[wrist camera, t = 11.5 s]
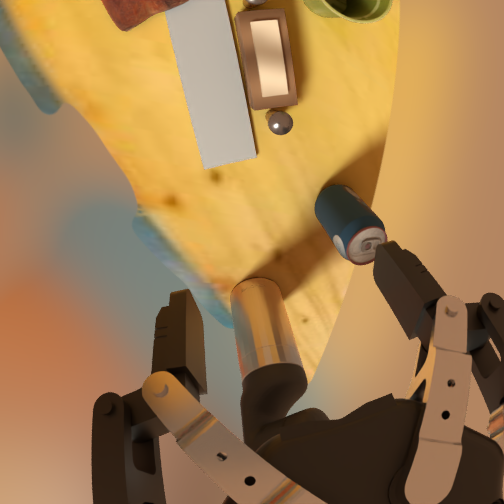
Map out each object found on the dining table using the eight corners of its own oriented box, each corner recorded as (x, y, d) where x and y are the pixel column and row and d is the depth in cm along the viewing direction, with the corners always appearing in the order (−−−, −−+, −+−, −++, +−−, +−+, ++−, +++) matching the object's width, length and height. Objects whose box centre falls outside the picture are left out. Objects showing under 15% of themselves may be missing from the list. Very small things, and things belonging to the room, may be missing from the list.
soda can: (310, 222, 44) (338, 272, 35) (313, 181, 40) (347, 225, 31) (349, 219, 45) (384, 265, 35) (355, 180, 41) (397, 221, 31)
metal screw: (284, 124, 34) (294, 132, 31) (263, 128, 34) (270, 136, 31) (281, 104, 33) (291, 110, 29) (259, 108, 33) (267, 113, 29)
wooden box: (287, 100, 33) (299, 105, 29) (249, 105, 32) (255, 111, 29) (274, 14, 25) (285, 7, 21) (234, 18, 25) (238, 11, 21)
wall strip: (256, 156, 37) (256, 157, 36) (204, 168, 36) (204, 169, 36) (218, -27, 21) (218, -28, 20) (159, -14, 20) (159, -15, 20)
